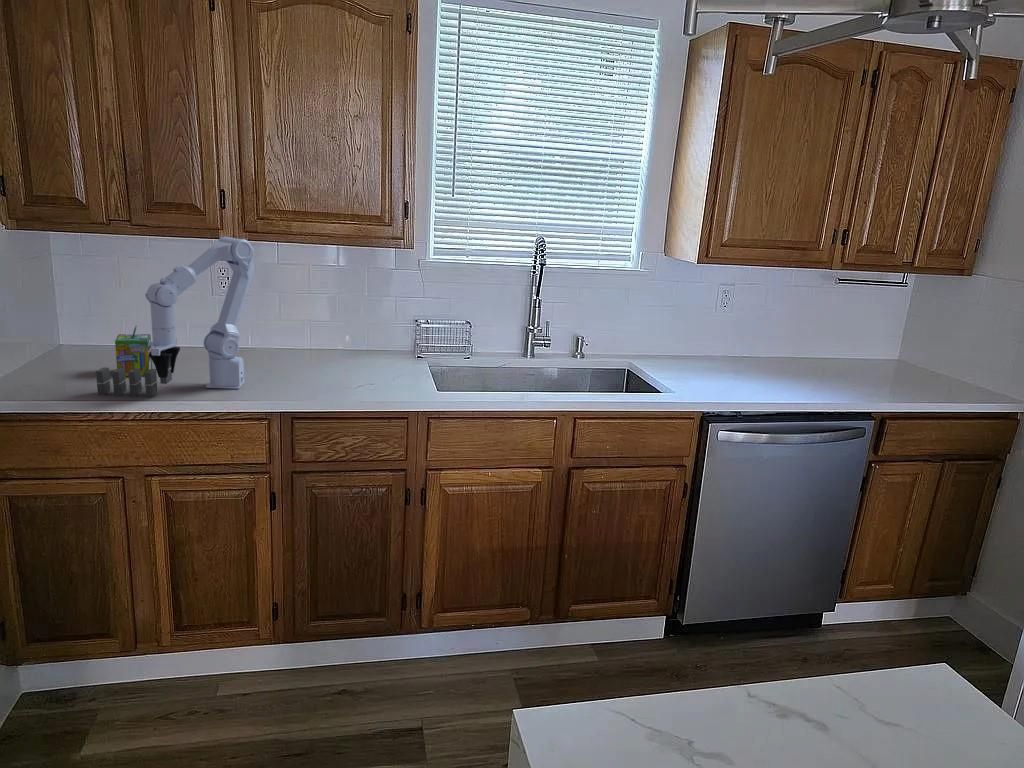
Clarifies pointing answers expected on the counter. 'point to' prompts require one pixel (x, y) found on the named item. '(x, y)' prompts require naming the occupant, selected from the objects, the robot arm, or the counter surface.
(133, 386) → the domino
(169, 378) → the domino
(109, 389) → the domino
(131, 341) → the chalk box
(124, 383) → the domino
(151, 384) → the domino
